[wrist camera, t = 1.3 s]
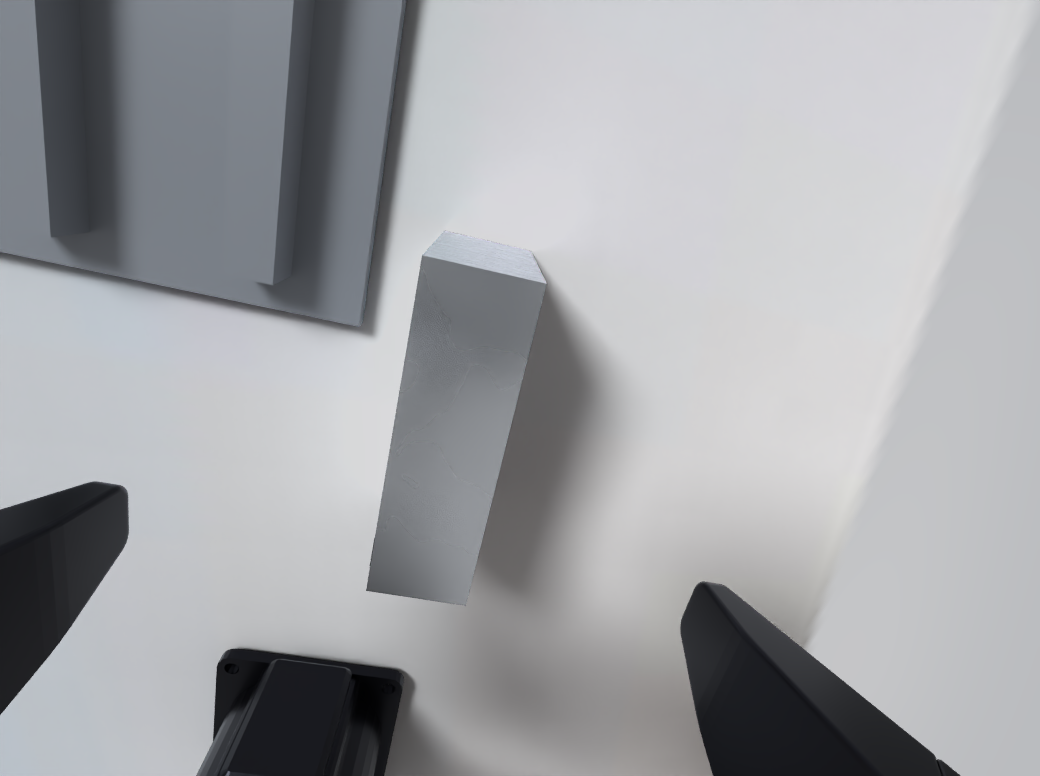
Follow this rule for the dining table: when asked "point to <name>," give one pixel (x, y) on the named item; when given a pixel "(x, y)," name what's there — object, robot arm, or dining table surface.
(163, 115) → the dock
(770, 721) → the robot arm
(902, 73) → the dining table surface
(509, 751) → the dining table surface
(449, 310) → the block
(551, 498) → the dining table surface
